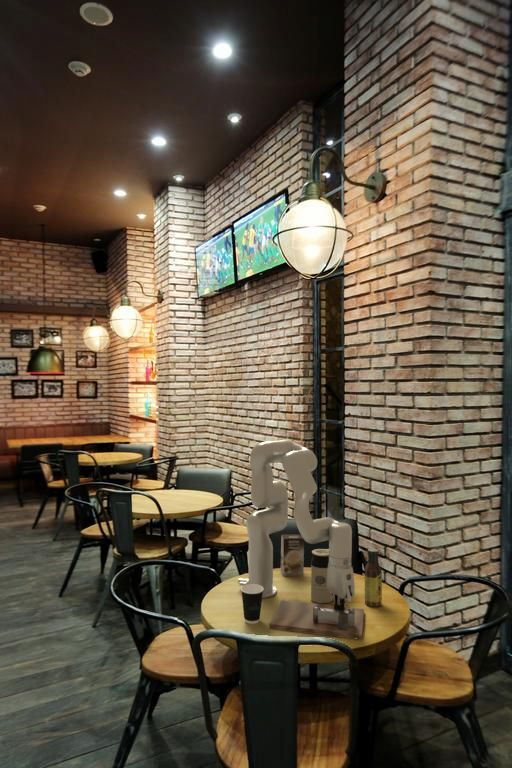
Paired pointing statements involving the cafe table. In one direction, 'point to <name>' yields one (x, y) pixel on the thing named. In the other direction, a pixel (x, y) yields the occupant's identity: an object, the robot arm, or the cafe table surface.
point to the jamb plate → (301, 620)
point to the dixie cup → (252, 602)
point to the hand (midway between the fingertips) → (339, 615)
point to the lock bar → (332, 615)
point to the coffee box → (292, 555)
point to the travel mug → (320, 576)
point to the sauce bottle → (373, 580)
